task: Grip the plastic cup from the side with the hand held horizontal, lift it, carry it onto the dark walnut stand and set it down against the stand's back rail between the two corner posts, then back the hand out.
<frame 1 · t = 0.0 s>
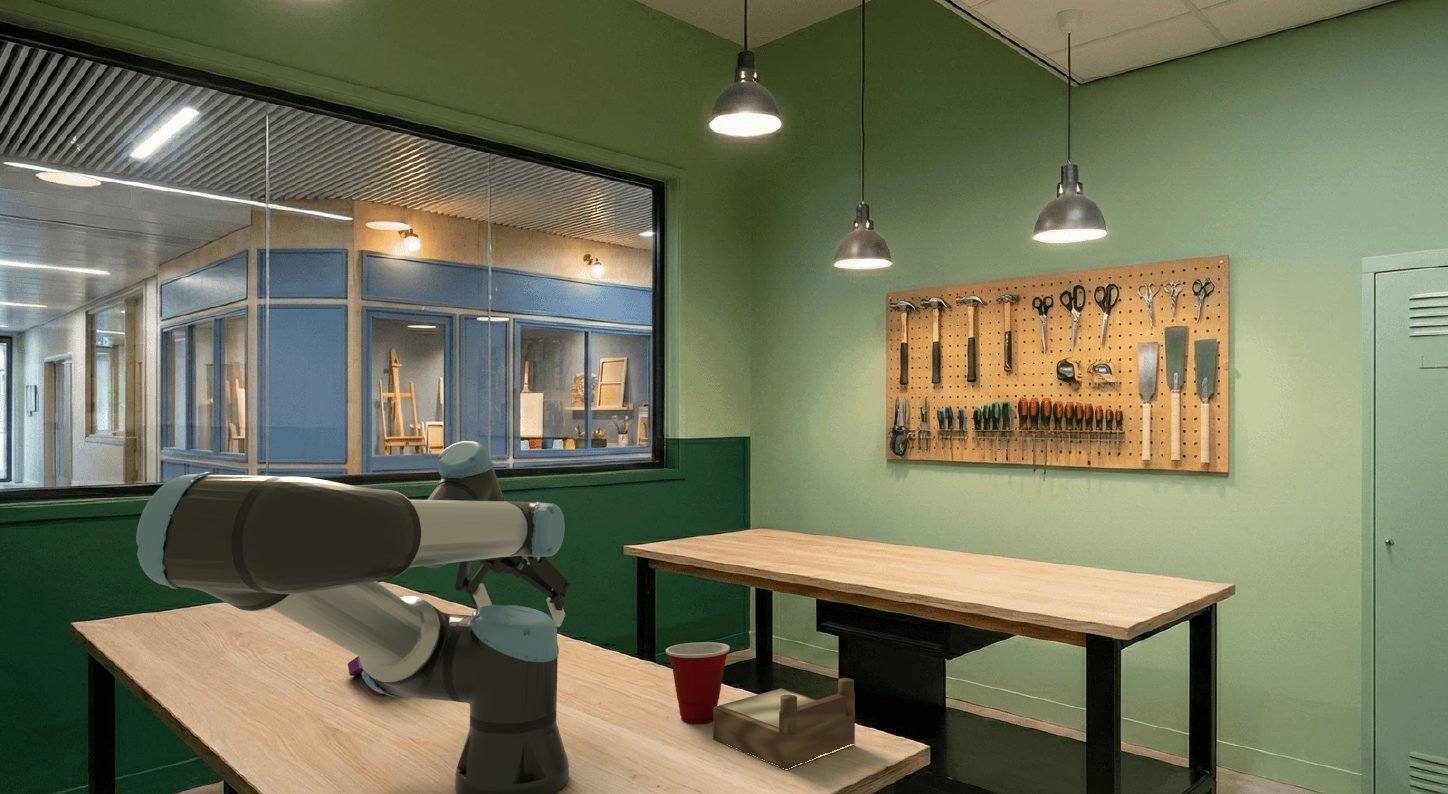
hand: (524, 618, 153), 15 cm above the table, tool tilted 35°, fingers open, 13 cm apart
mounting bracket: (385, 684, 167), on the table
plastic cup: (697, 719, 148), on the table
walnut stand: (783, 742, 138), on the table
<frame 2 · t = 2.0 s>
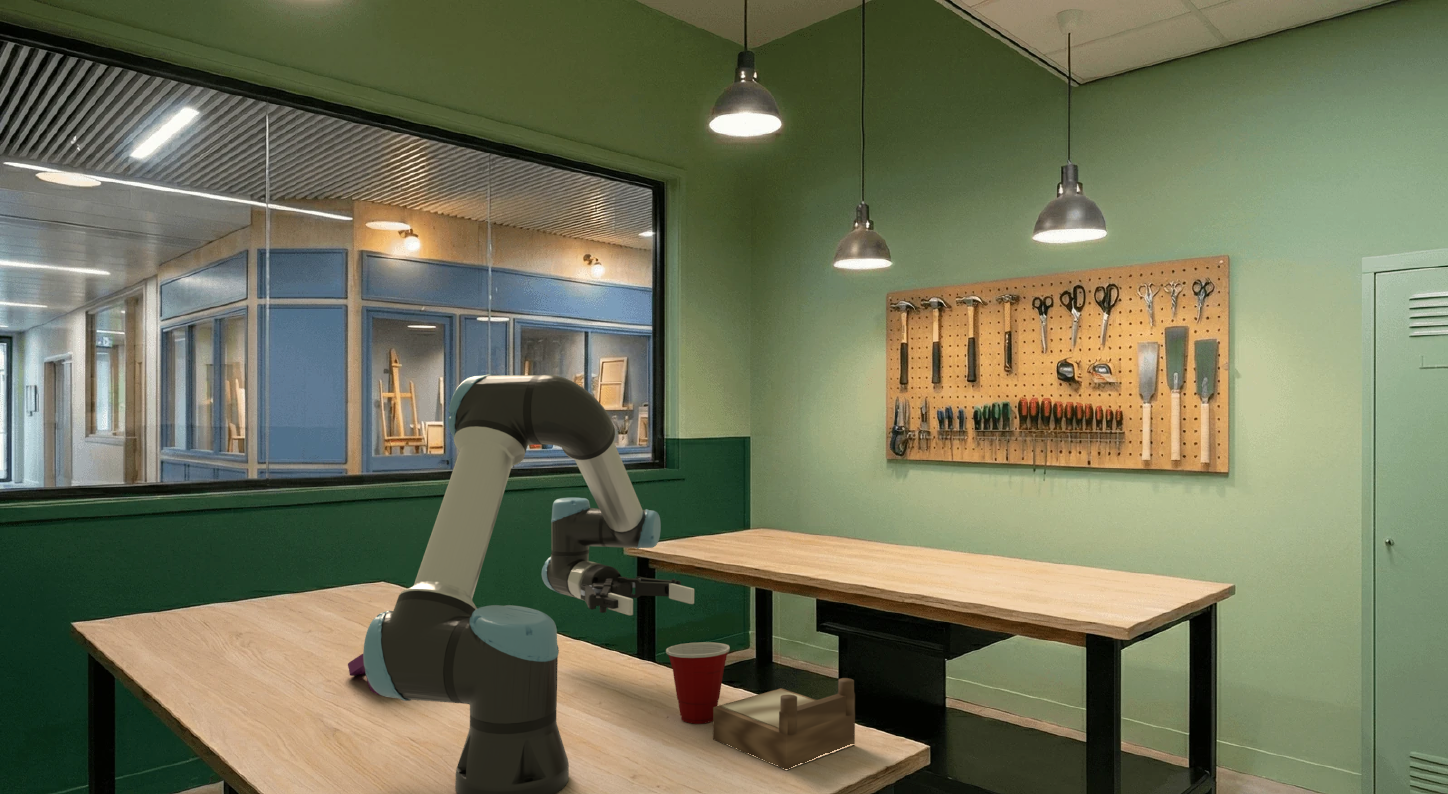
hand: (662, 601, 156), 18 cm above the table, tool horizontal, fingers open, 13 cm apart
nothing on the table moved.
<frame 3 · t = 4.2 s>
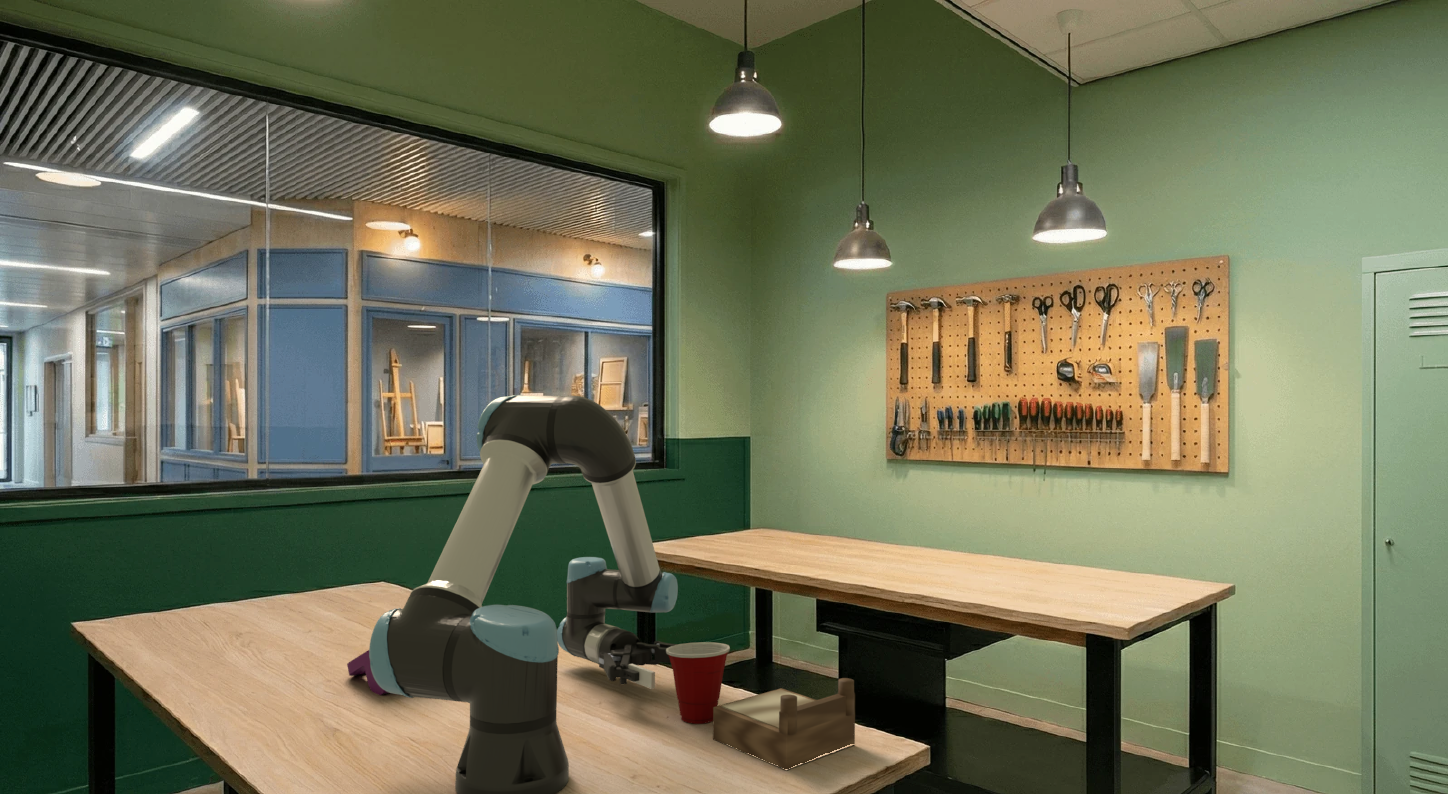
hand: (685, 673, 152), 6 cm above the table, tool horizontal, fingers open, 13 cm apart
nothing on the table moved.
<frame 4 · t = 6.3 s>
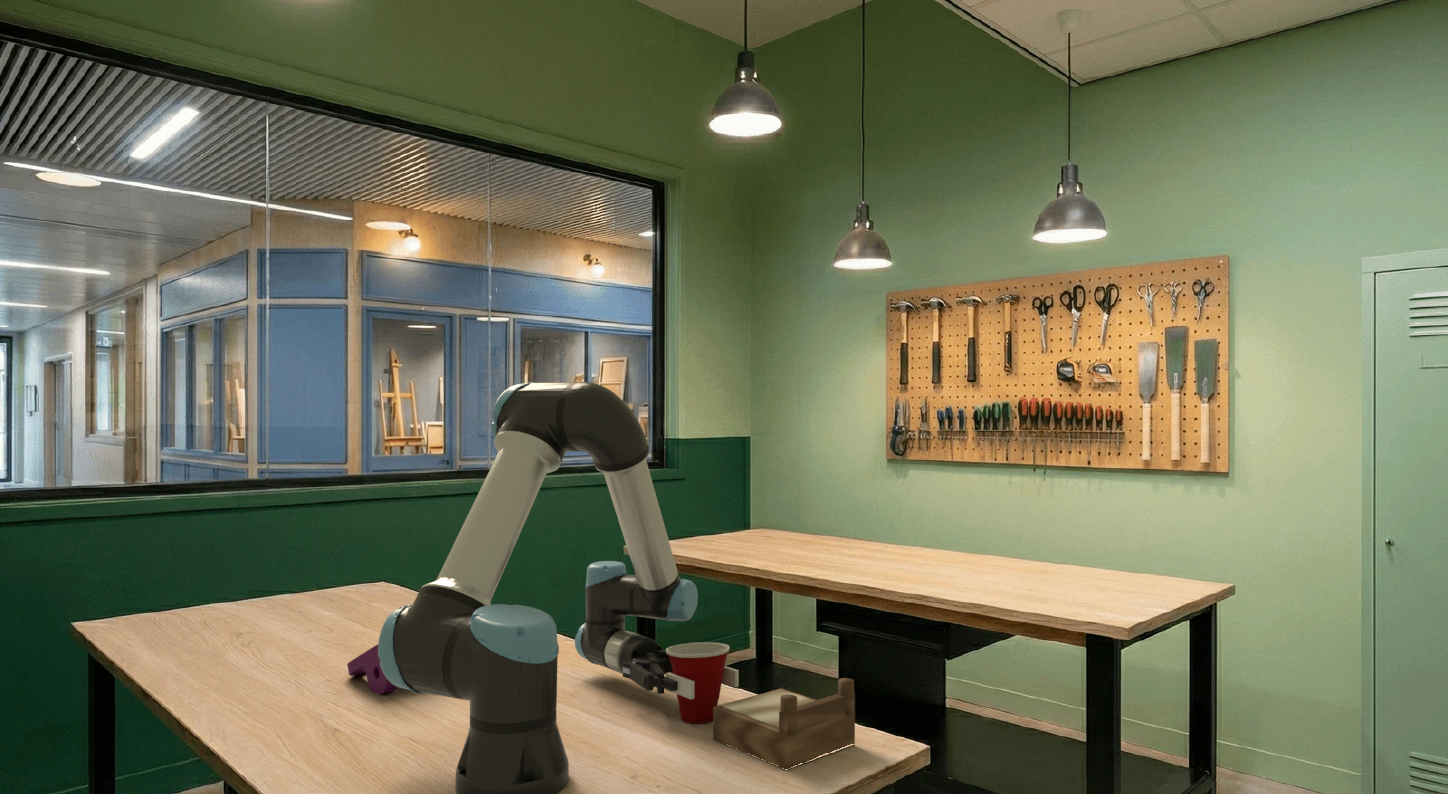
hand: (715, 684, 145), 7 cm above the table, tool horizontal, fingers closed on plastic cup, 9 cm apart
plastic cup: (697, 719, 148), on the table, touching gripper
everything else where it was.
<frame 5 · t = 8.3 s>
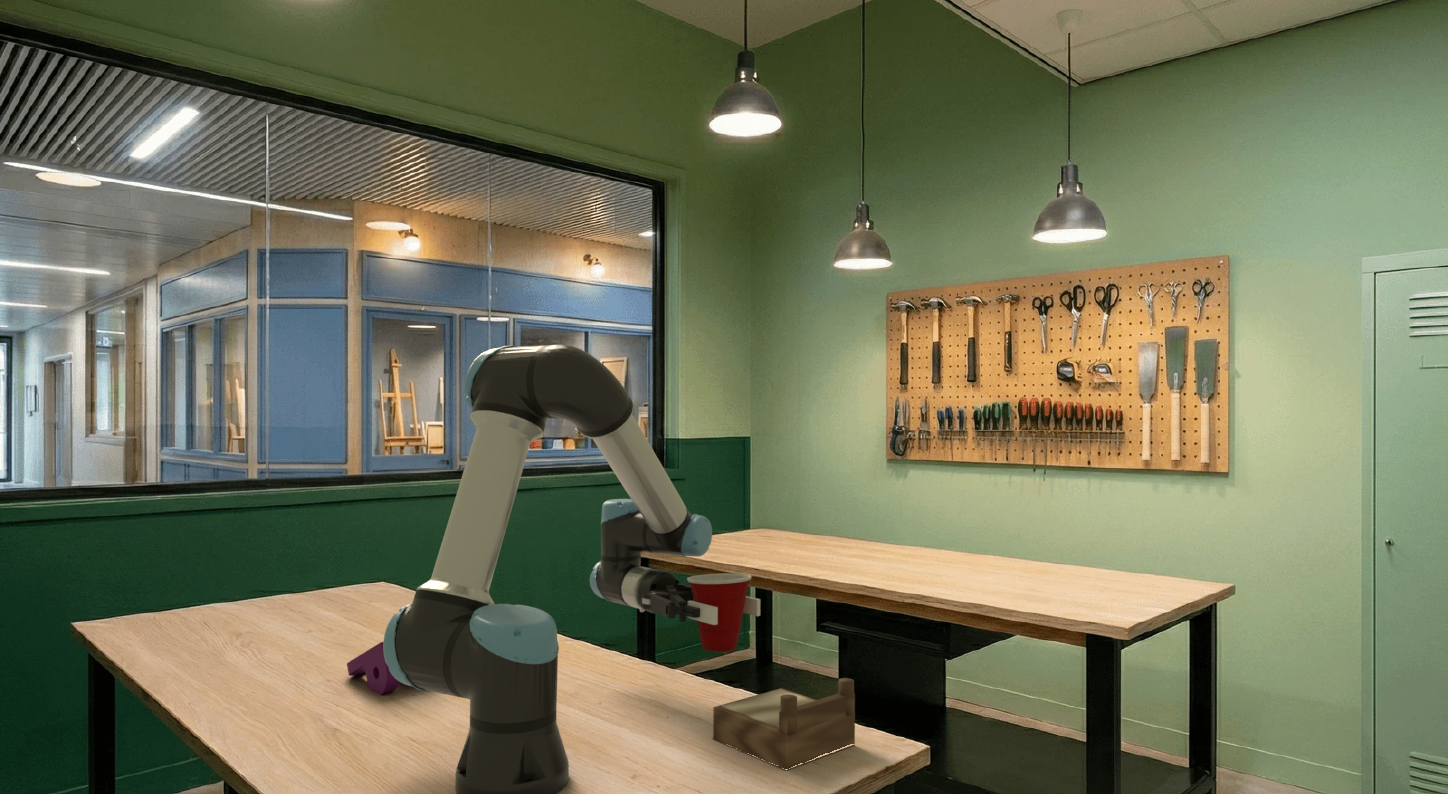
hand: (737, 611, 144), 19 cm above the table, tool horizontal, fingers closed on plastic cup, 9 cm apart
plastic cup: (718, 648, 147), point 12 cm above the table, touching gripper
everything else where it was.
when the fingers open (13 cm above the table, at t = 10.8 s): plastic cup drops 1 cm, resting on walnut stand.
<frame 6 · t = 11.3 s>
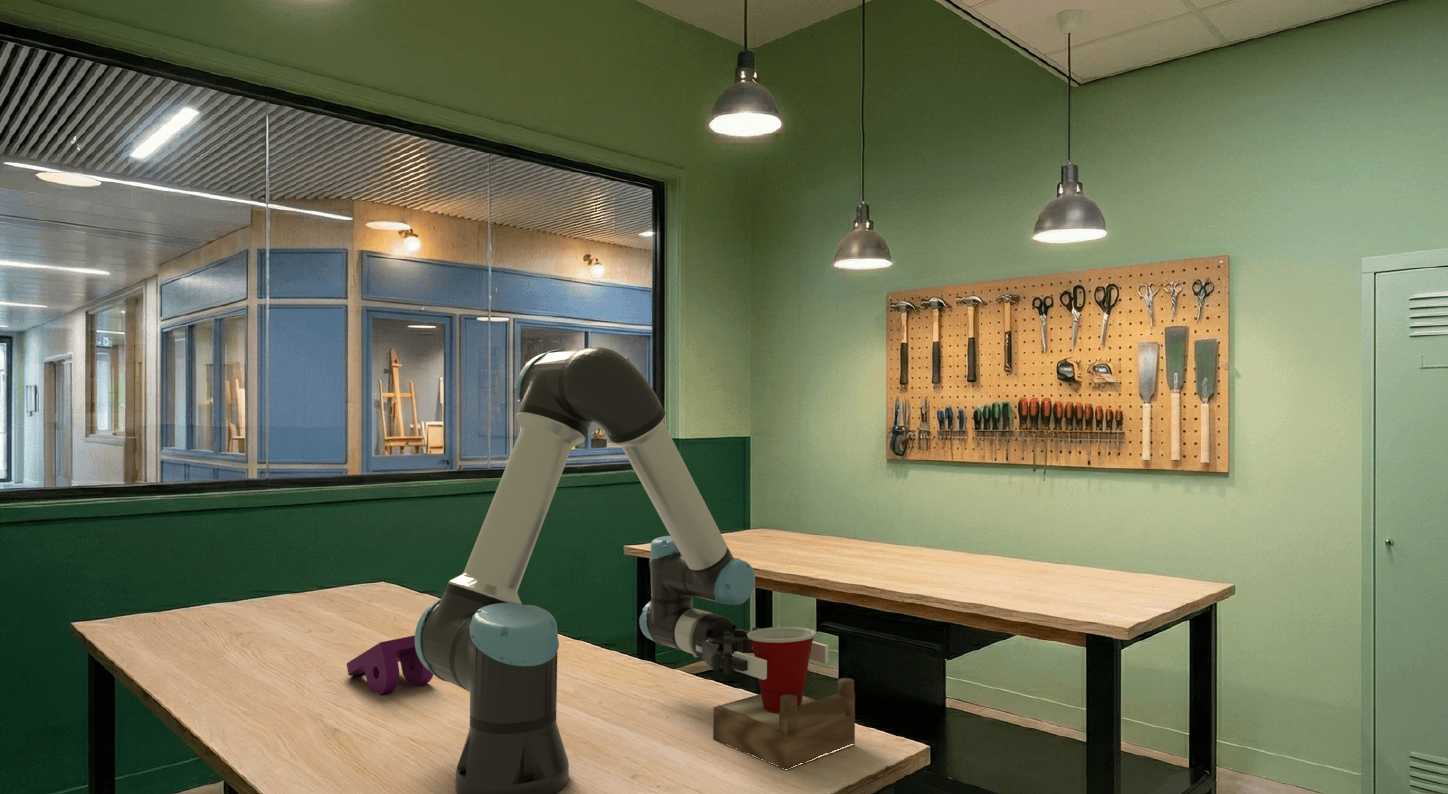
hand: (797, 662, 136), 13 cm above the table, tool horizontal, fingers open, 13 cm apart
plastic cup: (780, 709, 138), point 5 cm above the table, touching walnut stand
everything else where it was.
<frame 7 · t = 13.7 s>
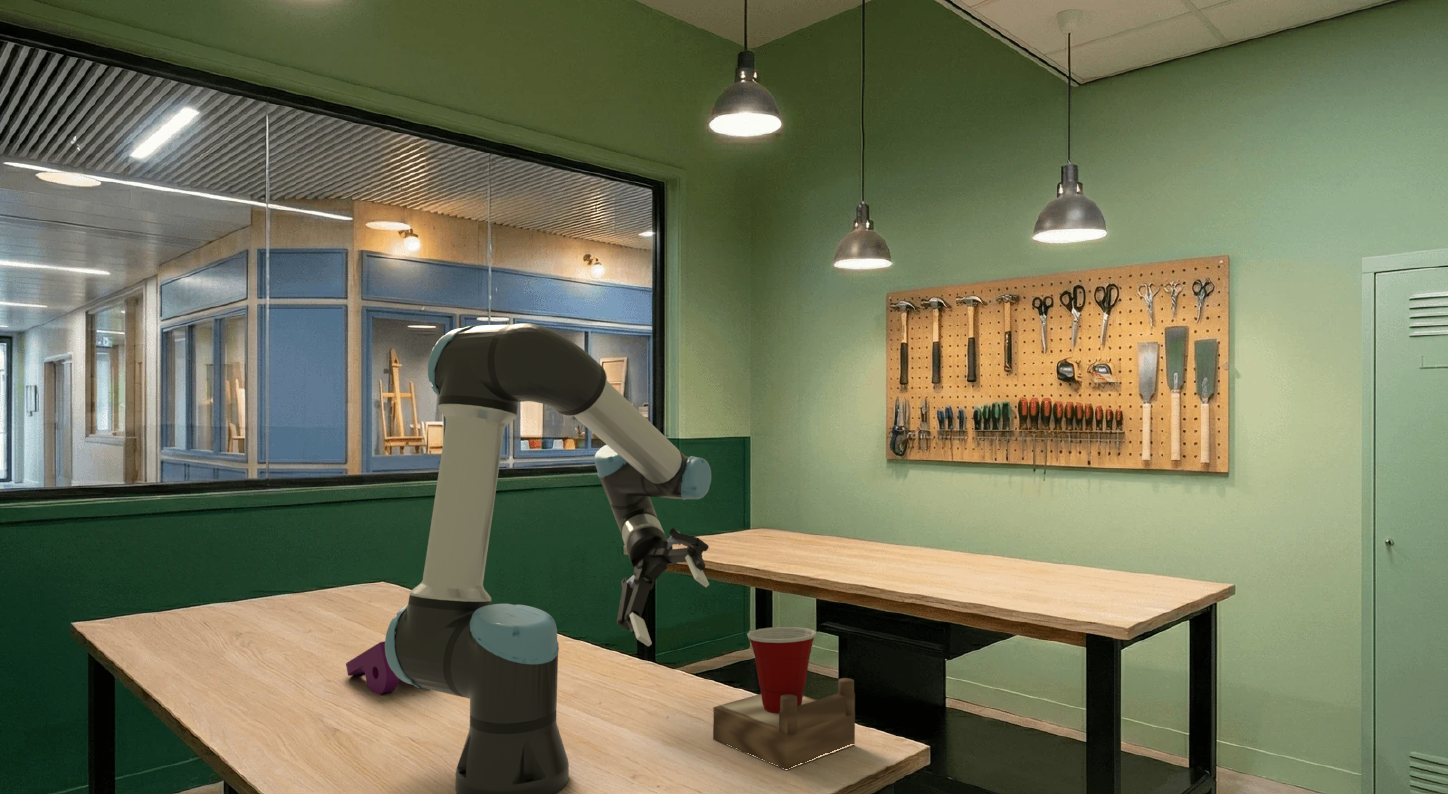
hand: (673, 612, 142), 19 cm above the table, tool tilted 65°, fingers open, 13 cm apart
nothing on the table moved.
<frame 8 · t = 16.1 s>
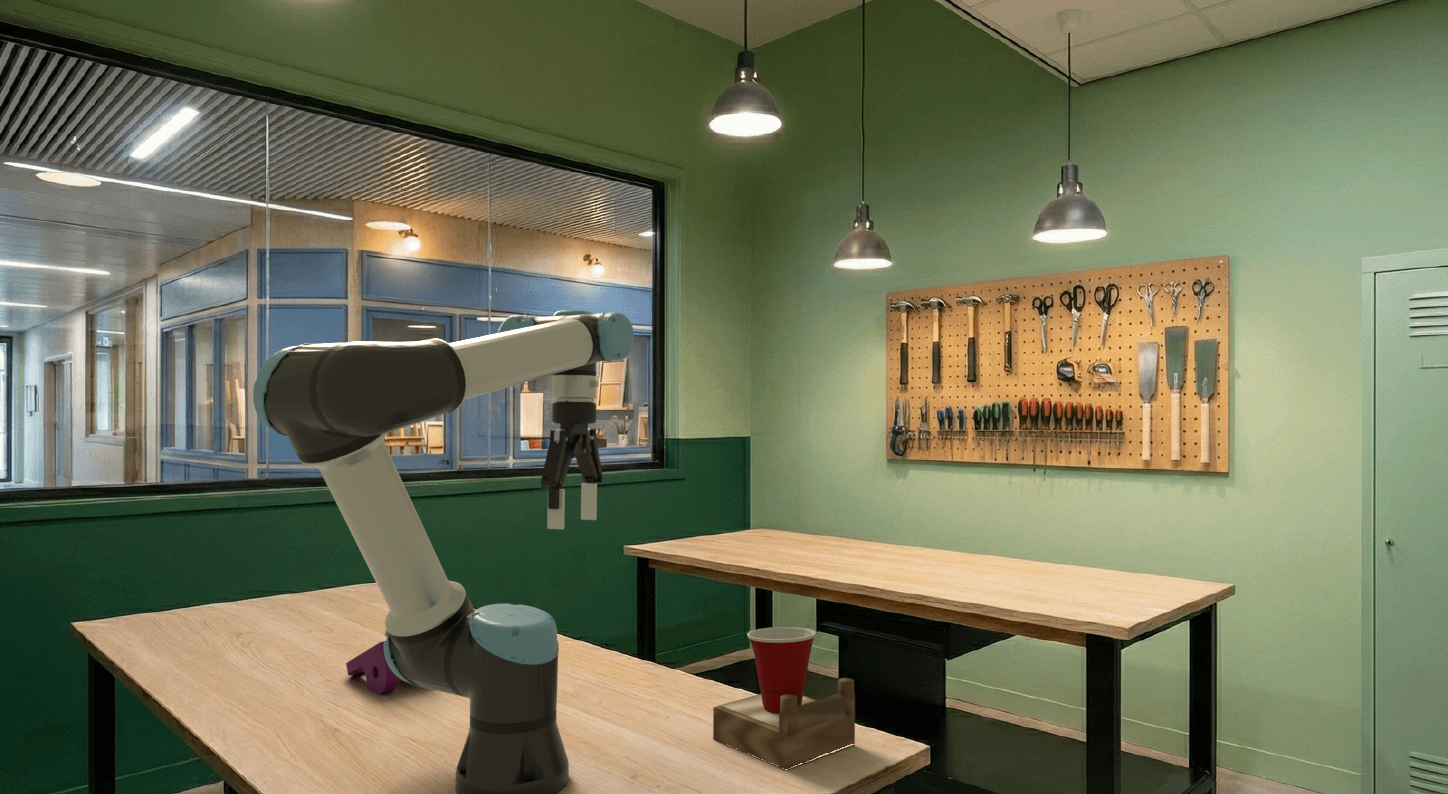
hand: (572, 524, 153), 32 cm above the table, tool pointing down, fingers open, 13 cm apart
nothing on the table moved.
at the end: plastic cup 0.5 cm from the walnut stand (horizontally); plastic cup point 5.0 cm above the table; plastic cup tilted 0° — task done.
